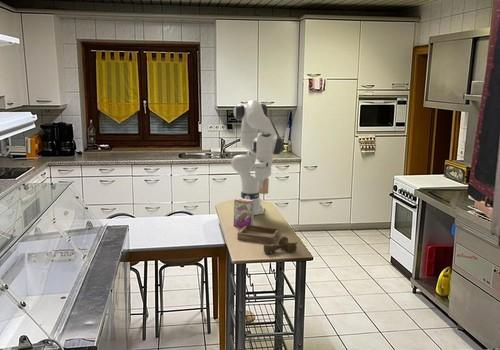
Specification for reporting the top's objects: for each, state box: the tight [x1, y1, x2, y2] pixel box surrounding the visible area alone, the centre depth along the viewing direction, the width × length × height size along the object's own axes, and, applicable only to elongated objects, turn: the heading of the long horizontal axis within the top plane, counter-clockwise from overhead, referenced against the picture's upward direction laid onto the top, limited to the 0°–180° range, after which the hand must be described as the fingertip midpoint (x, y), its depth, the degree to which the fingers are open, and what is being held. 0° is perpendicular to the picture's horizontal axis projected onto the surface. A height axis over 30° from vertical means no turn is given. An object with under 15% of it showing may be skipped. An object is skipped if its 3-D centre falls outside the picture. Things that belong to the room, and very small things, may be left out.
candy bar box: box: [233, 197, 255, 228], centre depth 268 cm, size 11×5×16 cm, turn 71°
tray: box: [236, 224, 281, 245], centre depth 251 cm, size 16×20×4 cm
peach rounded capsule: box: [258, 177, 270, 195], centre depth 250 cm, size 6×6×8 cm
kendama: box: [263, 236, 299, 255], centre depth 231 cm, size 6×10×20 cm
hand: (263, 186), depth 250 cm, fingers closed on peach rounded capsule, 6 cm apart
